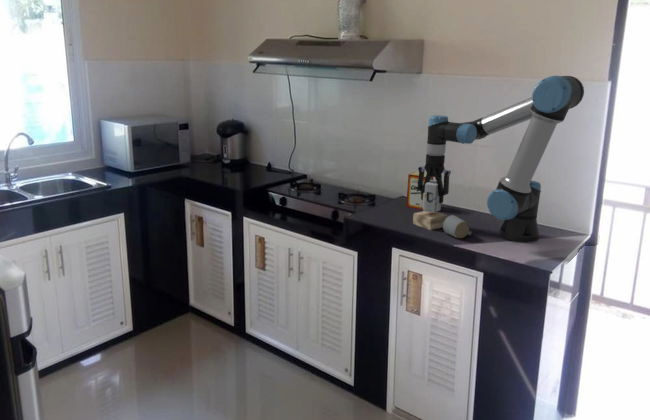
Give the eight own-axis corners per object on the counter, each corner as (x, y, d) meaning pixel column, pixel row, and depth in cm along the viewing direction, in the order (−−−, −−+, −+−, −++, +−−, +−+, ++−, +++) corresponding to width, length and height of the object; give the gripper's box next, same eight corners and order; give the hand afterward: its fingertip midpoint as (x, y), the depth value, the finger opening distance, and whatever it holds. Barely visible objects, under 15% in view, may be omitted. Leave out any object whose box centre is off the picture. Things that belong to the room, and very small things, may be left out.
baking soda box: (431, 207, 259) (433, 174, 254) (424, 210, 254) (427, 176, 249) (413, 204, 264) (415, 171, 260) (406, 206, 259) (408, 173, 255)
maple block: (446, 226, 231) (447, 215, 230) (430, 230, 225) (431, 219, 224) (429, 220, 239) (430, 209, 238) (412, 224, 233) (413, 213, 232)
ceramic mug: (455, 240, 214) (457, 221, 211) (441, 234, 220) (443, 215, 218) (476, 237, 218) (478, 218, 216) (462, 231, 225) (464, 213, 223)
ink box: (428, 206, 235) (430, 179, 232) (440, 208, 233) (441, 180, 230) (422, 211, 228) (424, 183, 224) (434, 213, 225) (436, 185, 222)
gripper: (461, 155, 221) (455, 211, 228) (419, 150, 232) (415, 203, 238) (453, 158, 216) (448, 215, 222) (410, 152, 226) (407, 206, 233)
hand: (431, 208), depth 230 cm, fingers closed on ink box, 6 cm apart
